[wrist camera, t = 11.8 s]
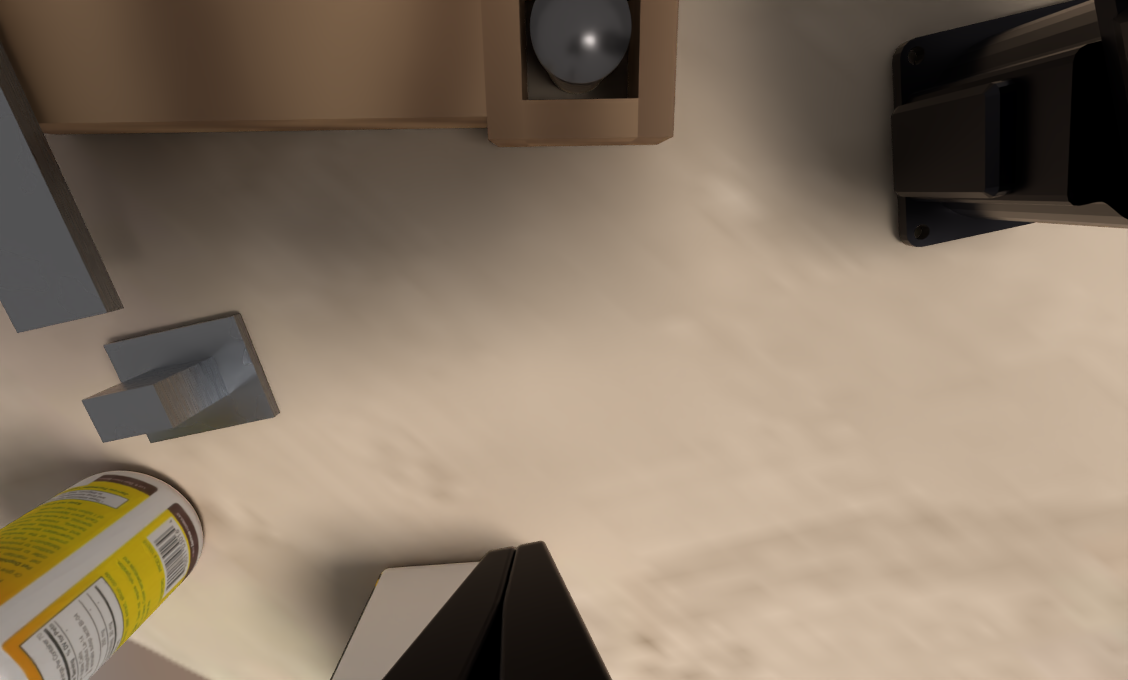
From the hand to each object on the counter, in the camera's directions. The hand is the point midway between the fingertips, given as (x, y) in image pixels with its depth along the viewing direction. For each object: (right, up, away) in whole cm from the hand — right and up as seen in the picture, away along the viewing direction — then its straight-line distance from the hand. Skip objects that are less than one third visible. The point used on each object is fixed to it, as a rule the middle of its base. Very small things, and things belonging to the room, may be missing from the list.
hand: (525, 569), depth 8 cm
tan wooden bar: (-6, +12, +9) cm, 16 cm away
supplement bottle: (-17, -4, +14) cm, 22 cm away
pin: (+1, +12, +9) cm, 15 cm away
